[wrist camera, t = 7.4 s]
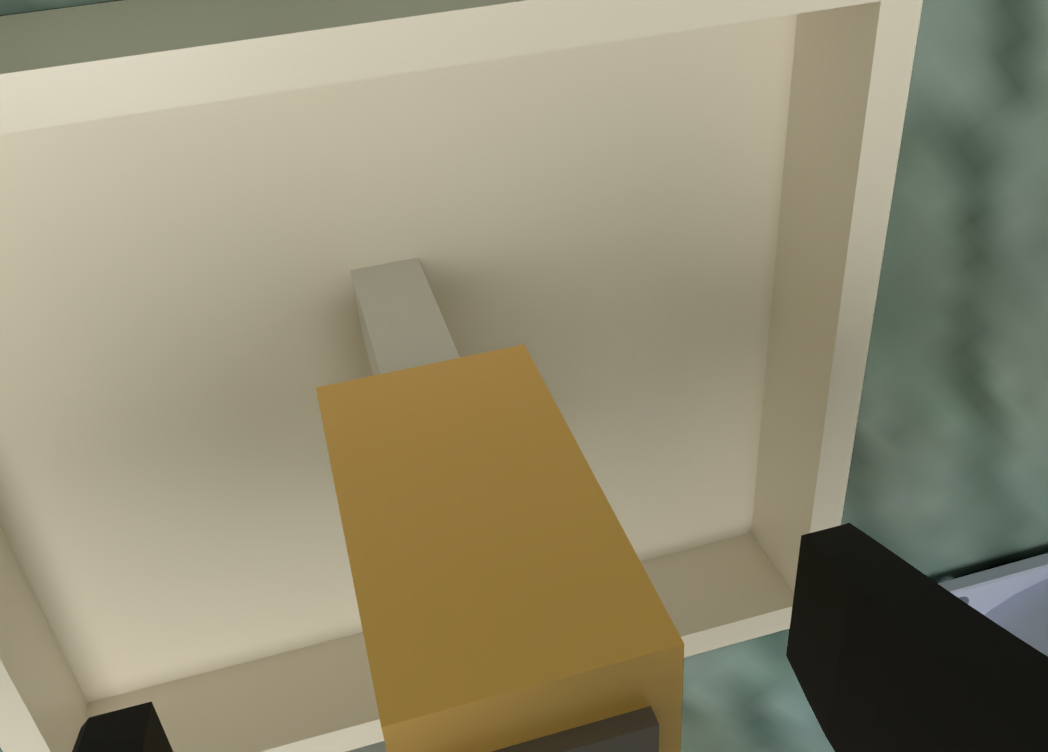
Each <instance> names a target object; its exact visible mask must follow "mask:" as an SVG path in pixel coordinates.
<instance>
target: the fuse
mask: <svg viewBox="0 0 1048 752" xmlns="http://www.w3.org/2000/svg"><path fill="white" fill-rule="evenodd" d="M350 271H351V276H352V282H353V287H354V292H355V298H356V303H357V309H358V314H359V319H360V325H361V330H362V335H363V340H364V344H365V347H366V351H367V355H368V358H369V362H370V365H371V369H372V372H373V376H369V377H365V378H360V379H355V380H350V381H345V382H340V383H336V384H331V385H326V386H321V387H316V391H317V396H318V402H319V407H320V412H321V417H322V422H323V427H324V433H325V438H326V443H327V448H328V453H329V459H330V464H331V469H332V474H333V479H334V485H335V490H336V495H337V500H338V505H339V510H340V516H341V521H342V526H343V531H344V536H345V542H346V547H347V552H348V557H349V562H350V568H351V573H352V578H353V583H354V588H355V594H356V599H357V604H358V609H359V614H360V619H361V625H362V630H363V635H364V640H365V645H366V651H367V656H368V661H369V666H370V671H371V677H372V682H373V687H374V692H375V697H376V703H377V708H378V713H379V718H380V723H381V728H382V733H383V737H384V741H385V745H386V750H387V752H680V746H681V720H682V694H683V669H684V642H683V640H682V639H681V637H680V635H679V633H678V631H677V629H676V627H675V625H674V624H673V622H672V620H671V618H670V616H669V614H668V612H667V610H666V609H665V607H664V605H663V603H662V601H661V599H660V597H659V596H658V594H657V592H656V590H655V588H654V586H653V584H652V582H651V581H650V579H649V577H648V575H647V573H646V571H645V569H644V567H643V566H642V564H641V562H640V560H639V558H638V556H637V554H636V552H635V551H634V549H633V547H632V545H631V543H630V541H629V539H628V537H627V536H626V534H625V532H624V530H623V528H622V526H621V524H620V523H619V521H618V519H617V517H616V515H615V513H614V511H613V509H612V508H611V506H610V504H609V502H608V500H607V498H606V496H605V494H604V493H603V491H602V489H601V487H600V485H599V483H598V481H597V479H596V478H595V476H594V474H593V472H592V470H591V468H590V466H589V464H588V463H587V461H586V459H585V457H584V455H583V453H582V451H581V449H580V448H579V446H578V444H577V442H576V440H575V438H574V436H573V435H572V433H571V431H570V429H569V427H568V425H567V423H566V421H565V420H564V418H563V416H562V414H561V412H560V410H559V408H558V406H557V405H556V403H555V401H554V399H553V397H552V395H551V393H550V391H549V390H548V388H547V386H546V384H545V382H544V380H543V378H542V376H541V375H540V373H539V371H538V369H537V367H536V365H535V363H534V362H533V360H532V358H531V356H530V354H529V352H528V350H527V348H526V347H525V345H524V344H523V345H518V346H513V347H509V348H504V349H499V350H494V351H489V352H485V353H480V354H475V355H470V356H465V357H461V358H460V356H459V354H458V352H457V349H456V347H455V345H454V342H453V340H452V338H451V335H450V333H449V330H448V328H447V326H446V323H445V321H444V319H443V316H442V314H441V312H440V309H439V307H438V305H437V302H436V300H435V297H434V295H433V293H432V290H431V288H430V286H429V283H428V281H427V279H426V276H425V274H424V271H423V269H422V267H421V264H420V262H419V260H418V258H413V259H408V260H402V261H397V262H392V263H386V264H381V265H376V266H370V267H365V268H360V269H354V270H350Z"/></svg>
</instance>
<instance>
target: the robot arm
mask: <svg viewBox="0 0 1048 752" xmlns="http://www.w3.org/2000/svg"><path fill="white" fill-rule="evenodd" d="M786 655H787V658H788V660H789V662H790V664H791V666H792V668H793V670H794V672H795V675H796V677H797V679H798V681H799V683H800V685H801V687H802V689H803V692H804V694H805V696H806V698H807V700H808V702H809V704H810V706H811V708H812V710H813V712H814V714H815V716H816V718H817V720H818V722H819V724H820V726H821V728H822V730H823V732H824V734H825V736H826V737H827V739H828V741H829V742H830V744H831V745H832V747H833V749H834V750H835V752H1048V553H1046V554H1042V555H1038V556H1035V557H1031V558H1027V559H1024V560H1020V561H1017V562H1013V563H1009V564H1006V565H1002V566H999V567H995V568H991V569H988V570H984V571H980V572H977V573H973V574H970V575H966V576H962V577H959V578H955V579H952V580H948V581H944V582H941V583H936V582H935V581H933V580H932V579H930V578H929V577H927V576H926V575H924V574H923V573H921V572H920V571H919V570H917V569H916V568H914V567H913V566H911V565H910V564H909V563H907V562H906V561H904V560H903V559H901V558H900V557H898V556H897V555H896V554H894V553H893V552H891V551H890V550H888V549H887V548H886V547H884V546H883V545H881V544H880V543H878V542H877V541H875V540H874V539H872V538H871V537H870V536H868V535H867V534H865V533H864V532H862V531H861V530H859V529H858V528H856V527H855V526H853V525H852V524H850V523H848V524H844V525H840V526H836V527H832V528H828V529H824V530H820V531H816V532H812V533H809V534H805V535H801V542H800V550H799V558H798V566H797V574H796V582H795V590H794V598H793V606H792V614H791V622H790V630H789V638H788V646H787V654H786ZM72 752H173V750H172V747H171V745H170V743H169V741H168V738H167V736H166V734H165V731H164V729H163V727H162V724H161V722H160V720H159V717H158V715H157V713H156V710H155V708H154V706H153V703H152V701H151V702H148V703H144V704H140V705H136V706H132V707H128V708H124V709H120V710H116V711H112V712H108V713H104V714H101V715H97V716H93V717H89V718H88V719H87V721H86V722H85V723H84V724H83V726H82V727H81V729H80V731H79V734H78V737H77V740H76V742H75V745H74V748H73V750H72Z"/></svg>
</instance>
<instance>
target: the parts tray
mask: <svg viewBox="0 0 1048 752" xmlns="http://www.w3.org/2000/svg"><path fill="white" fill-rule="evenodd" d="M922 3H923V0H121V1H114V2H106V3H98V4H91V5H83V6H75V7H68V8H60V9H52V10H45V11H37V12H29V13H21V14H14V15H6V16H0V748H1V749H2V751H3V752H72V750H73V748H74V745H75V742H76V740H77V737H78V734H79V731H80V729H81V727H82V726H83V724H84V723H85V722H86V721H87V719H88V718H89V717H93V716H97V715H101V714H104V713H108V712H112V711H116V710H120V709H124V708H128V707H132V706H136V705H140V704H144V703H148V702H151V701H152V703H153V706H154V708H155V710H156V713H157V715H158V717H159V720H160V722H161V724H162V727H163V729H164V731H165V734H166V736H167V738H168V741H169V743H170V745H171V747H172V750H173V752H346V751H350V750H353V749H357V748H360V747H364V746H368V745H371V744H375V743H378V742H382V741H384V737H383V733H382V728H381V723H380V718H379V713H378V708H377V703H376V697H375V692H374V687H373V682H372V677H371V671H370V666H369V661H368V656H367V651H366V645H365V640H364V635H363V630H362V625H361V619H360V614H359V609H358V604H357V599H356V594H355V588H354V583H353V578H352V573H351V568H350V562H349V557H348V552H347V547H346V542H345V536H344V531H343V526H342V521H341V516H340V510H339V505H338V500H337V495H336V490H335V485H334V479H333V474H332V469H331V464H330V459H329V453H328V448H327V443H326V438H325V433H324V427H323V422H322V417H321V412H320V407H319V402H318V396H317V391H316V387H321V386H326V385H331V384H336V383H340V382H345V381H350V380H355V379H360V378H365V377H369V376H373V372H372V369H371V365H370V362H369V358H368V355H367V351H366V347H365V344H364V340H363V335H362V330H361V325H360V319H359V314H358V309H357V303H356V298H355V292H354V287H353V282H352V276H351V271H350V270H354V269H360V268H365V267H370V266H376V265H381V264H386V263H392V262H397V261H402V260H408V259H413V258H418V260H419V262H420V264H421V267H422V269H423V271H424V274H425V276H426V279H427V281H428V283H429V286H430V288H431V290H432V293H433V295H434V297H435V300H436V302H437V305H438V307H439V309H440V312H441V314H442V316H443V319H444V321H445V323H446V326H447V328H448V330H449V333H450V335H451V338H452V340H453V342H454V345H455V347H456V349H457V352H458V354H459V356H460V358H461V357H465V356H470V355H475V354H480V353H485V352H489V351H494V350H499V349H504V348H509V347H513V346H518V345H523V344H524V345H525V347H526V348H527V350H528V352H529V354H530V356H531V358H532V360H533V362H534V363H535V365H536V367H537V369H538V371H539V373H540V375H541V376H542V378H543V380H544V382H545V384H546V386H547V388H548V390H549V391H550V393H551V395H552V397H553V399H554V401H555V403H556V405H557V406H558V408H559V410H560V412H561V414H562V416H563V418H564V420H565V421H566V423H567V425H568V427H569V429H570V431H571V433H572V435H573V436H574V438H575V440H576V442H577V444H578V446H579V448H580V449H581V451H582V453H583V455H584V457H585V459H586V461H587V463H588V464H589V466H590V468H591V470H592V472H593V474H594V476H595V478H596V479H597V481H598V483H599V485H600V487H601V489H602V491H603V493H604V494H605V496H606V498H607V500H608V502H609V504H610V506H611V508H612V509H613V511H614V513H615V515H616V517H617V519H618V521H619V523H620V524H621V526H622V528H623V530H624V532H625V534H626V536H627V537H628V539H629V541H630V543H631V545H632V547H633V549H634V551H635V552H636V554H637V556H638V558H639V560H640V562H641V564H642V566H643V567H644V569H645V571H646V573H647V575H648V577H649V579H650V581H651V582H652V584H653V586H654V588H655V590H656V592H657V594H658V596H659V597H660V599H661V601H662V603H663V605H664V607H665V609H666V610H667V612H668V614H669V616H670V618H671V620H672V622H673V624H674V625H675V627H676V629H677V631H678V633H679V635H680V637H681V639H682V640H683V642H684V658H685V657H688V656H692V655H695V654H699V653H703V652H706V651H710V650H713V649H717V648H721V647H724V646H728V645H731V644H735V643H739V642H742V641H746V640H749V639H753V638H757V637H760V636H764V635H768V634H771V633H775V632H778V631H782V630H786V629H789V628H790V622H791V614H792V606H793V598H794V590H795V582H796V574H797V566H798V558H799V550H800V542H801V535H805V534H809V533H812V532H816V531H820V530H824V529H828V528H832V527H836V526H840V525H841V520H842V514H843V508H844V501H845V495H846V488H847V482H848V476H849V469H850V463H851V457H852V450H853V444H854V437H855V431H856V425H857V418H858V412H859V405H860V399H861V393H862V386H863V380H864V374H865V367H866V361H867V354H868V348H869V342H870V335H871V329H872V322H873V316H874V310H875V303H876V297H877V291H878V284H879V278H880V271H881V265H882V259H883V252H884V246H885V240H886V233H887V227H888V220H889V214H890V208H891V201H892V195H893V188H894V182H895V176H896V169H897V163H898V157H899V150H900V144H901V137H902V131H903V125H904V118H905V112H906V106H907V99H908V93H909V86H910V80H911V74H912V67H913V61H914V54H915V48H916V42H917V35H918V29H919V23H920V16H921V10H922Z"/></svg>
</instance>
